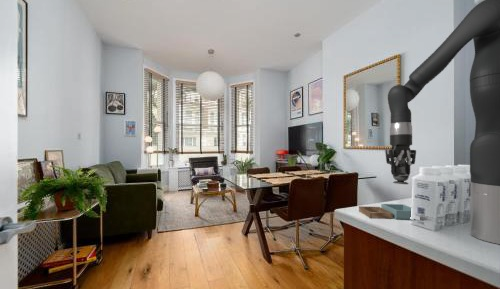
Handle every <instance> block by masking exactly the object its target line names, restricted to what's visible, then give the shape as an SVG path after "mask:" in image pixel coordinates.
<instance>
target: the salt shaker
mask: <svg viewBox="0 0 500 289" xmlns="http://www.w3.org/2000/svg"><path fill="white" fill-rule="evenodd" d="M397 166H398V175H392V177H393V180H395V181H393V182H392V184H395V185H396V184H397V185H409V183H408V182H407V180H409V177H410V175H411V174H410V175H408V174H406V172H405V166H406V165H405V158H404V157H402V158H401V160H400V161H399V163H398V165H397Z"/></svg>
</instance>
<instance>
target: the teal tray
mask: <svg viewBox="0 0 500 289" xmlns="http://www.w3.org/2000/svg"><path fill="white" fill-rule="evenodd" d="M380 208H383V209H385V210H387V211H389V212H391V213H393V219H394V220H397V221H410V220H409V219H410V217H411V208H412V206H409V205H406V204H400V203H399V204H397V203H396V204H395V203H394V204H393V203H381V207H380Z"/></svg>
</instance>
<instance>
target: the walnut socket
mask: <svg viewBox="0 0 500 289" xmlns="http://www.w3.org/2000/svg"><path fill="white" fill-rule="evenodd" d="M358 212H359V213H361V214H363V215H364V216H366V217H367V218H369V219H381V220H382V219H383V220H385V219H386V220H387V219H389V220H392V219H394V218H393V213H391V212H389V211H387V210H385V209H383V208H381V207H380V206H365V205H364V206H362V205H360V206H358Z"/></svg>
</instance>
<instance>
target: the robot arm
mask: <svg viewBox="0 0 500 289" xmlns="http://www.w3.org/2000/svg"><path fill="white" fill-rule="evenodd" d="M472 40H473V46H474V58H473V61H472V63H471V64H472V65H471V68H470V73H469V94H470V100H471V101H470V102H471V107H472V110H473V114H474V118H475V119H474V120H475V127H474V128H475V130H474V139H473V140H472V141H471V142H470V146H469V174H470V176H469V177H470V214H469V215H470V217H469V218H470V219H469V229H470V230H469V235H471V236H472V237H474V238H476V239H479V240H481V241H485V242H488V243H493V244H497V245H500V0H483V1H480V2H479V3H478V4H476V5H475V6H474V7H473V8H472V9H471V10H470V11H469V12H468V13H467V14H466V15H465V17H464V18H463V19H462V20H461V21H460V23H459V24H458V25H457V27H456V28H455V29H454V30H453V31H452V32H451V33H450V34H449V36H448V37H446V38H445V40H444V41H443V42H442V43H441V44H440V45H439V46H438V47H437V48H436V49H435V50H434V51H433V53H431V54H430V55H429V56H428V57H427V58H426V59H425V60H424V61H423V62H422V63H421V64H420V65H419V66H417V67H416V69H414V70H413V71H412V72H411V73H410V74H409V76H408V81H407V82H406V83H405V84H404V85H403V84H396V85H394V86H392V87H391V88H390V89H389V91H388V93H387V103H388V108H389V112H390V126H389V145H390V146H391V148H390V149H388V148H387V149H385V150H384V153H385V161H386V164H388V165H389V166H390V173H391V175H392V176H393V175H398V166H397V165H398V163H399V161H400V160H401V158H402V157H404V158H405V165H406V166H405V172H406V174H408V175H411V166H412V165H415V163H416V155H417V150H416V149H411V146H412V145H413V125H412V111H411V109H410V108H409V105H408V104H409V103H410V102H411V101H413V100H414V99H415V98H416V97H417V96H418V95H419V93H421V92H422V90H423V89H424V87H425V86H426V85H428V84H429V83H430V82H431V81H433V80H434V79H435V78H436V77H437V76H439V75H440V74H441V73H442V72H443V71H444V70H445V69H446V68H447V66H449V65H450V63H451V62H452V61H453V59H455V57H456V56H457V55H458V53H459V52H460V51H461V50H462V49H463V48H464V47H465V46H466V45H467V44H468V43H470V41H472Z"/></svg>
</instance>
